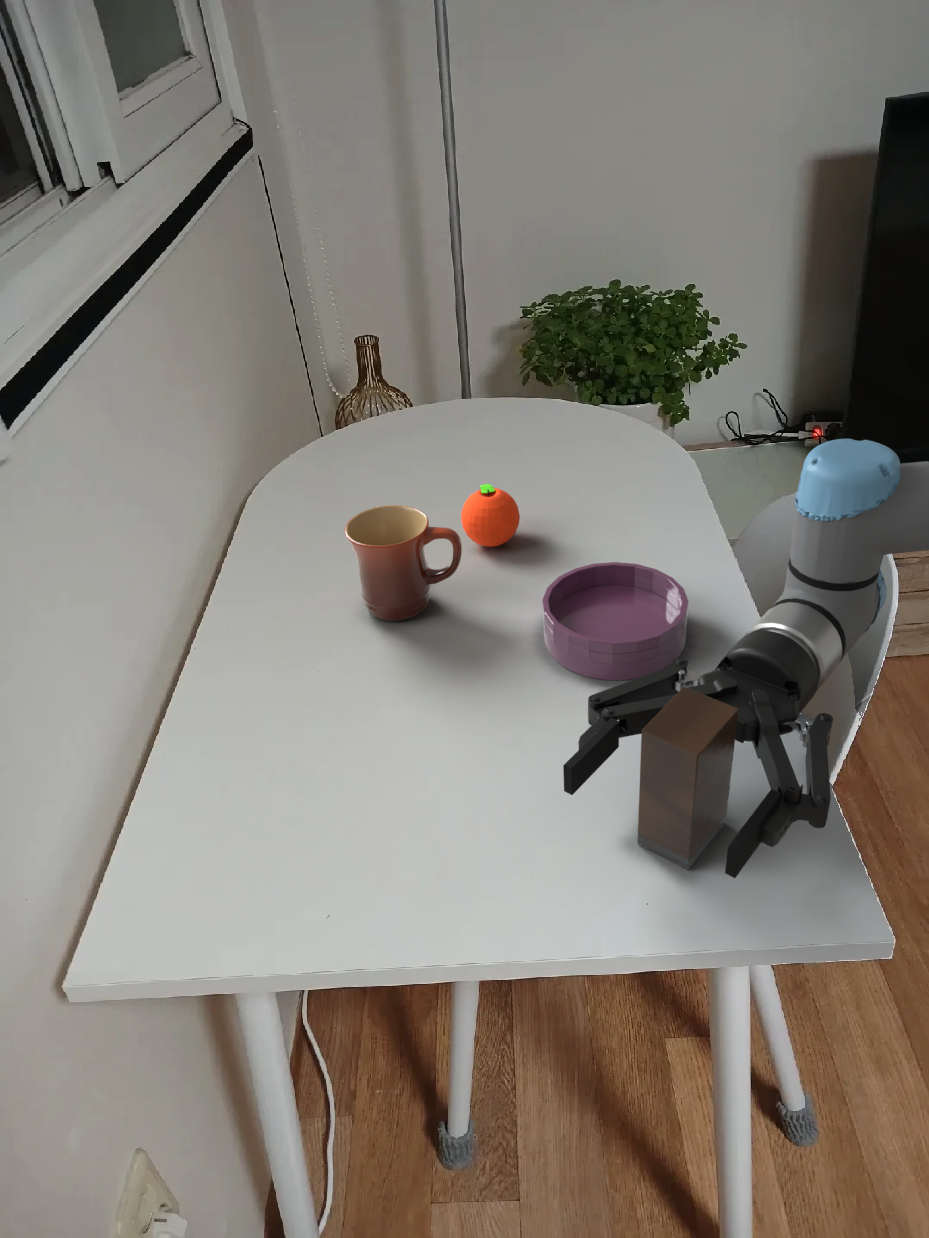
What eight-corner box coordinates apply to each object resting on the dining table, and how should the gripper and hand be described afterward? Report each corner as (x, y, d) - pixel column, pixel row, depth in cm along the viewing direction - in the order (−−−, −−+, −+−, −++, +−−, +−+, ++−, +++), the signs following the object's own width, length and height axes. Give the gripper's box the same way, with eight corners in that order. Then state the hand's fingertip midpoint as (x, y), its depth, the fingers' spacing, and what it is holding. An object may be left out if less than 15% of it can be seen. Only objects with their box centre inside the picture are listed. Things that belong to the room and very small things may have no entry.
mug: (351, 629, 102) (336, 547, 96) (366, 584, 109) (354, 505, 103) (462, 629, 100) (454, 545, 94) (470, 584, 107) (463, 503, 101)
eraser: (725, 822, 76) (739, 708, 69) (688, 871, 72) (697, 755, 65) (675, 798, 78) (683, 685, 71) (636, 844, 75) (641, 729, 68)
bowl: (715, 638, 96) (718, 601, 93) (612, 700, 89) (613, 662, 86) (615, 582, 105) (615, 547, 103) (516, 634, 99) (513, 599, 96)
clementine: (457, 529, 118) (452, 477, 114) (511, 520, 118) (508, 468, 114) (469, 561, 111) (464, 508, 107) (527, 552, 112) (524, 498, 108)
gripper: (920, 756, 76) (806, 940, 63) (648, 651, 90) (510, 784, 77) (939, 683, 71) (821, 864, 59) (651, 585, 85) (505, 714, 73)
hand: (644, 819), depth 68 cm, fingers open, 13 cm apart
